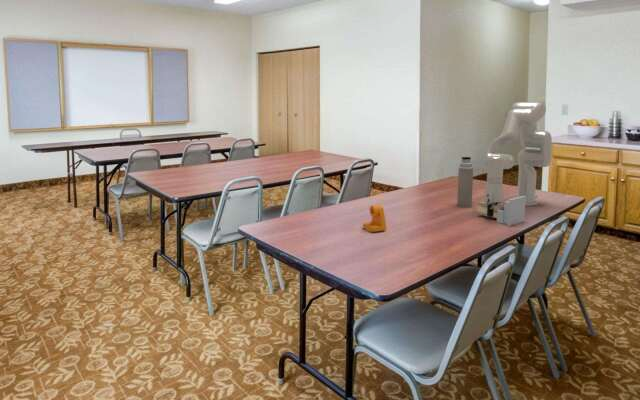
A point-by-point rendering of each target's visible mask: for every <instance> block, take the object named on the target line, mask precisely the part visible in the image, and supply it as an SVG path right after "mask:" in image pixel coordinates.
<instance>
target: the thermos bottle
mask: <svg viewBox="0 0 640 400" xmlns="http://www.w3.org/2000/svg"><path fill="white" fill-rule="evenodd" d="M457 175H458V176H457V178H458V180H457V199H456V200H457V201H456V205H457V207H460V208H471V207H472V205H473V204H472V203H473V183H474V182H473V181H474V167H473V162H472V157H470V156H462V157H461V162H459V166H458V174H457Z"/></svg>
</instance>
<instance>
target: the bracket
mask: <svg viewBox="0 0 640 400" xmlns="http://www.w3.org/2000/svg"><path fill="white" fill-rule="evenodd" d="M369 214H370V216H371V221H364V222H362V227H363V228H364V230H366V231H367V232H368V233H375V232H382V231H387V222H386V217H385V211H384V207H383V205H382V204H376V205H374V204H373V205H371V206H370V207H369Z"/></svg>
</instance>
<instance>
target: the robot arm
mask: <svg viewBox="0 0 640 400" xmlns="http://www.w3.org/2000/svg"><path fill="white" fill-rule="evenodd" d="M546 111H547V107H546V104H545V103H543V102H541V101H540V102H538V101H536V102H535V101H532V102H531V101H520V102H519V101H518V102H513V104H511V108H510V110H509V111H508V113H507V116H506V118H505V122H504V125H503V128H502V132H501V134H500V135H499V136H497V137H496V138H495V139H494V140H493V141H492V142H491V143H490V144H489V146H488V148H487V151H486V153H485V154H486V155H485V157H484V158H485V159H484V163H485V164H484V165H485V166H486V168H487V173H486V174H487V175H486V183H485V187H484V195H483V202H485V203H484V204H485V205H486V206H487V216H486V217H490V216H491V217H490V218H494V217H493V204H498V205H501V203H502V202H503V197H504V196H503V195H504V191H503V189H504V187H503V182H504V181H503V179H504V178H503V177H504V170H509V169H512V168H513V166H515V162H516V161H515V158H514V156H513V155H511V154H507V153H506V154H505V153H496V152H497V151H498V150H499V148H501V147H503V146H505V145H508V144H511V143H513V142H516V141H517V140H518V139H519V137H520V144H521V146H522V147H524V148H523V149H521V150H520V151H518V153H517V162H518V176H517V177H518V179H517V192H516V193H517V194H516V198H517V197H521V196H526V203H525V207H529V206H530V207H532V206H537V205H538V201H536V199H538V198H539V196H538V195H536V189H537V188H536V187H537V171H536V169H535V167H540V168H547V167H549V166H550V165H551V163H552V156H553V155H552V152H553V150H552V149H553V147H552V144H553V141H552V139H553V137H552V134H551V133H550V131H547V130H538V125H537V123H538V122H540V121H541V120H542V119H543V118H544V117H545V114H546ZM490 204H491V205H490Z"/></svg>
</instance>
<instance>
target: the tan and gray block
mask: <svg viewBox="0 0 640 400" xmlns="http://www.w3.org/2000/svg"><path fill="white" fill-rule="evenodd" d="M484 203H485V202H484V201H479V202H477V204H476V205H477V206H476V207H477V209H476V214H477V215H481V216H485V217H488V216H487V206H486V205H485V204H484ZM490 205H491V204H490ZM497 210H502V211H504V205H501V204H500V205H498V204H494V203H493V217H491V216H489V217H490V218H493V219H497Z"/></svg>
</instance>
